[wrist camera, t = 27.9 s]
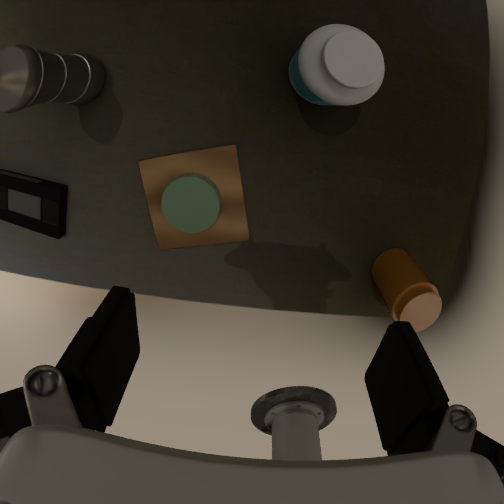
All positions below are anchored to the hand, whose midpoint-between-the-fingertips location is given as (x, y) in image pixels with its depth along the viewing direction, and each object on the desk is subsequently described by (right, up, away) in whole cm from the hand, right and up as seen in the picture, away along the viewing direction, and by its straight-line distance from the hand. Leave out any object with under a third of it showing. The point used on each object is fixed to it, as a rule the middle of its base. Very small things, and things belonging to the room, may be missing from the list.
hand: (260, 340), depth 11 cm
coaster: (-7, +9, +27) cm, 30 cm away
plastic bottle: (-21, +25, +20) cm, 38 cm away
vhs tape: (-33, +11, +27) cm, 45 cm away
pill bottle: (+7, +23, +20) cm, 32 cm away
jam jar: (+19, +1, +31) cm, 36 cm away
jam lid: (-7, +9, +25) cm, 28 cm away
